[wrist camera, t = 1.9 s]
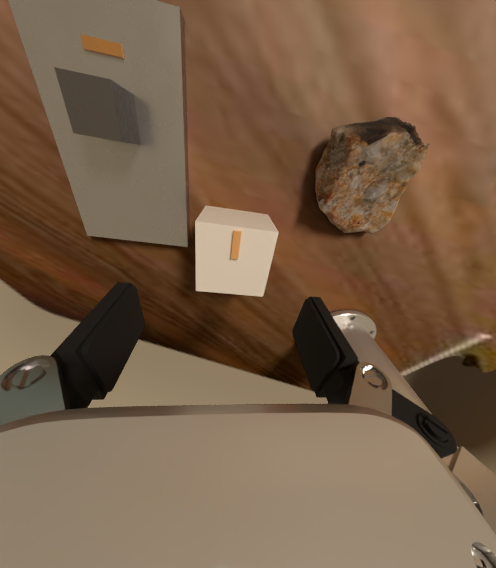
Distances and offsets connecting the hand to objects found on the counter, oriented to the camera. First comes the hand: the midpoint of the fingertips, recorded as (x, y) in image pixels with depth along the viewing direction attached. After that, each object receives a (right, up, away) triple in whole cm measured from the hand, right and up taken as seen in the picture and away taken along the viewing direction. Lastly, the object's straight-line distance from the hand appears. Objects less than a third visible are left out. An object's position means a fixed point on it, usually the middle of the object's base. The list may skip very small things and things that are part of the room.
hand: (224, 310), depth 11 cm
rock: (+12, +12, +8) cm, 19 cm away
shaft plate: (-9, +13, +6) cm, 17 cm away
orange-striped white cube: (0, +7, +11) cm, 13 cm away
